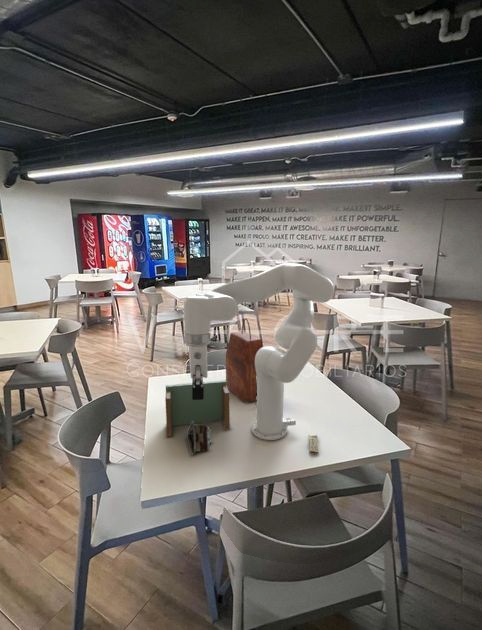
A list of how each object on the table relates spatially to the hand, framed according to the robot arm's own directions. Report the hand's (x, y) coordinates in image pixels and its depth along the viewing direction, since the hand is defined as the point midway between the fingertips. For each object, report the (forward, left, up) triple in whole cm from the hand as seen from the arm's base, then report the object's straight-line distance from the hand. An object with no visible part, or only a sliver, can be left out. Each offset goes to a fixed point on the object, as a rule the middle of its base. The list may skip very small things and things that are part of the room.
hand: (197, 392), depth 101 cm
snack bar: (-38, +2, -22) cm, 44 cm away
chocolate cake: (-1, -7, -22) cm, 23 cm away
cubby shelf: (-1, -18, -22) cm, 28 cm away
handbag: (-24, -43, -22) cm, 54 cm away
